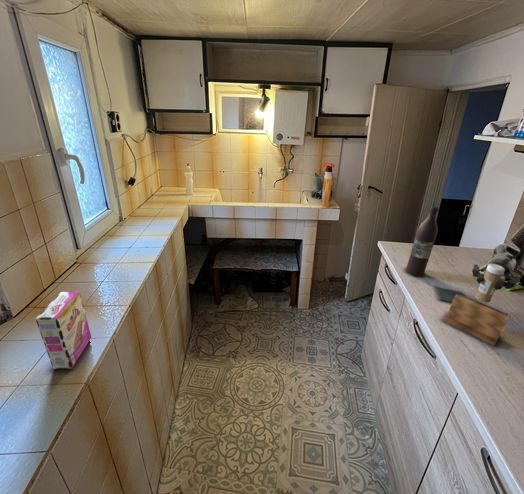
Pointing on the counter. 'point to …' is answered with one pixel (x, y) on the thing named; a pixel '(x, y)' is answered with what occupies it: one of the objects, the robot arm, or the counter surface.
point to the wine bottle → (423, 244)
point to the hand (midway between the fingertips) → (488, 284)
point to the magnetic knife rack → (476, 318)
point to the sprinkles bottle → (489, 282)
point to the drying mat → (447, 294)
